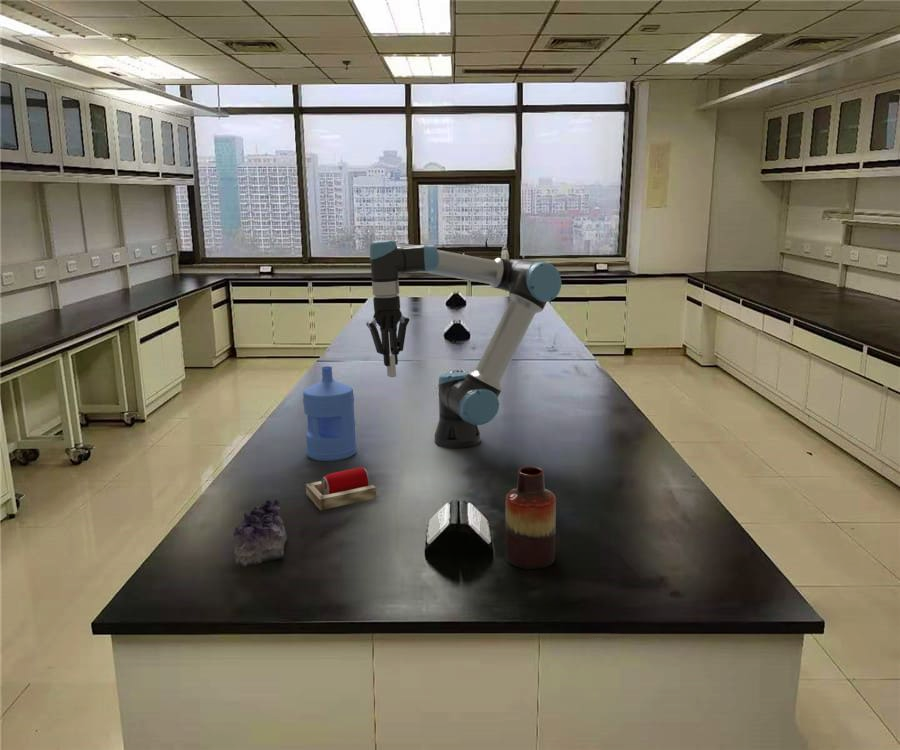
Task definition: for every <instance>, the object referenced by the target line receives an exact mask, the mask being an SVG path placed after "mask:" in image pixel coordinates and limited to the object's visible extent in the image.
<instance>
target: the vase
mask: <svg viewBox="0 0 900 750" xmlns="http://www.w3.org/2000/svg"><path fill="white" fill-rule="evenodd" d="M544 473H545V472H544V469H543V468H540V467H538V466H524V467H520V468H519V469H518V471H517V480H516V481H517V483H516V488H515V487H514V488H512V489H511V490H509V491H508V492H507V493H506V495H505V559H507V560H508V561H507V560H506V561H507V563H509V562H510V563H511V564H513V565H514V566H513V565H512V566H513V567H515V566H517V567H516V568H518V567H520V568H519V569H522V568H525V569H524V570H530V569H535V570H540V569H539V568H542V569H546V568H548V567H550V566H551V565H552V564H553V563H554V562H555V559H556V516H557V515H556V514H557V513H556V511H557V505H556V504H557V498H556V497H557V496H555V494H554V493H553V492H552V491H551V490H549V489H547V488H545V474H544ZM510 563H509V564H510ZM511 564H510V565H511ZM549 565H550V566H549ZM547 566H548V567H547ZM545 567H546V568H545Z"/></svg>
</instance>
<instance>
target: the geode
mask: <svg viewBox="0 0 900 750" xmlns="http://www.w3.org/2000/svg"><path fill="white" fill-rule="evenodd" d="M281 505H282V504H281V503H280V502H279V501H278V500H277V499H275V500H273V501H272V500H271V501H270V500H268V499H267V500H266V501H265V502H262V504H261V506H259V507H258V506H255V507H253V508H252V510H251V511H249V512H244V513H243V516H244V518H243V521H242V522H241V523H240V524H239V525H237V526H236V527H235V528H234V531H233V536H234V555H235V564H237V565H240V566H241V567H243V568H247V567H250V566H254V565H258V564H261V563H265V562H269V561H277V560H280V559H282V558H284V556H285V551H284V550H285V549H284V548H285V546H286V544H287V542H288V534H287V532H286V528H285V526H284V520H283V518H282V512H281Z"/></svg>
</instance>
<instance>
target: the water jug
mask: <svg viewBox="0 0 900 750" xmlns="http://www.w3.org/2000/svg"><path fill="white" fill-rule="evenodd" d="M332 369H333V366H328V365H327V366H321V370H322V372H321V376H322V379H321V381H319V382H316V383H315V384H312V385H311V386H309V387H307V388H305V389H304V390H303V392H302V403H303V412H304V414H305V415H306V417H307V432H306V433H305V441H306V443H305V444H306V446H305V447H306V455H307V457H308V458H310V459H311V460H314V461H320V462H335V461H342V460H345V459H348V458H351V457H352V456H353V455H355V454H356V453H357V443H356V442H357V441H356V419H355V405H354V403H355V395H354V390H353V387H352V386H350V385H348V384H345V383H343V382H340V381H338V380H334V379H333V371H332Z"/></svg>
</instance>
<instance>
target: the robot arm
mask: <svg viewBox="0 0 900 750" xmlns="http://www.w3.org/2000/svg"><path fill="white" fill-rule="evenodd" d="M369 262H370V270H371V286H372V295H373V296H374V297H373V298H372V301H373V310H374V314H373V315H372V316H373V318H372V320H370V321H366V323H365V325H366V327H367V328H368V329H369V331H370V333H371V334H370V335H371V337H372V341H373V345H374V347H375V350H376V353H377V354H379V355H382V356H383V365H384V366H385V367H386V373H387V374H386V375H387V377H389V378H396V377H397V367H396V366H397V365H398V362H399V360H398V355H399V354H400V352H403V350H404V346H405V340H406V333H407V327H408V324H409V322H410V318H409V317H406V316H404V315H403V314H402V311H401V299H400V295H399V294H400V283H399V274H407V273H427V274H430V275H437V276H444V277H447V278H455V279H461V280H466V281H470V282H476V283H477V282H478V283H483V284H489V286H490V287H491V288H492V289H497V290H501V291H502V290H503V291H505V292H508V297H509V300H510V301H509V303H508V305H507V306H506V309H505V311H504V312H503V315H502V317H501V318H500V321H499V323H498V324H497V327H496V328H495V330H494V332H493V333H492V334H493V335H492V337H491V338H490V340H489V341H488V344H487V346H486V348H485V350H484V352H483V354H482V356H481V358H480V359H479V362H478V364H477V366H476V368H475V369H474V370H472V371H455V372H447V373H442V374H441V375H439V378H438V385H437V386H438V411H439V413H438V415H439V416H438V417H439V420H438V422H437V425H436V429H435V432H434V443H435V445H437V446H440V447H444V448H448V449H449V448H451V449H464V448H465V449H466V448H469V447H474V446H476V445H478V444H480V442H481V432H480V429H479V427H478V426H483V425H486V424H488V423H490V422H491V421H492V420H494V419H495V417H496V416H497V414H498V412H499V409H500V402H499V396H500V394H501V393H502V387H501V381H502V379H503V377H504V375H505V374H506V371H507V369H508V367H509V366H510V364H511V362H512V360H513V358H514V356H515V354H516V352H517V350H518V348H519V346H520V344H521V342H522V340H523V338H524V336H525V334H526V332H527V330H528V329H529V327H530V324H531V323H532V321H533V319H534V317H535V315H536V314H538V313H541V312H543V310H544V308H545V307H546V306H547V302H551V301H552V300H554V299H556V297H558V295H559V294H560V291H561V288H562V278H561V274H560V272H559V270H558V269H557V267H556V266H554V265H553V264H552V263H550V262H545V261H543V260H532V259H531V260H530V259H515V258H514V259H512V258H511V259H510V258H509V259H508V258H500V257H496V258H495V259H489V258H484V257H483V258H482V257H478V256H473V255H472V256H471V255H467V254H461V253H458V252H457V253H456V252H452V251H448V250H447V251H446V250H440V249H438V248H437V247H436V245H434V244H426V243H425V244H408V243H405V242H399V243H398V242H397V241H396V240H393V239H388V240H387V239H385V240H383V239H382V240H381V239H380V240H373V241H372V242H370V244H369ZM378 327H379V330H380V334H379V330H378Z"/></svg>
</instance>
